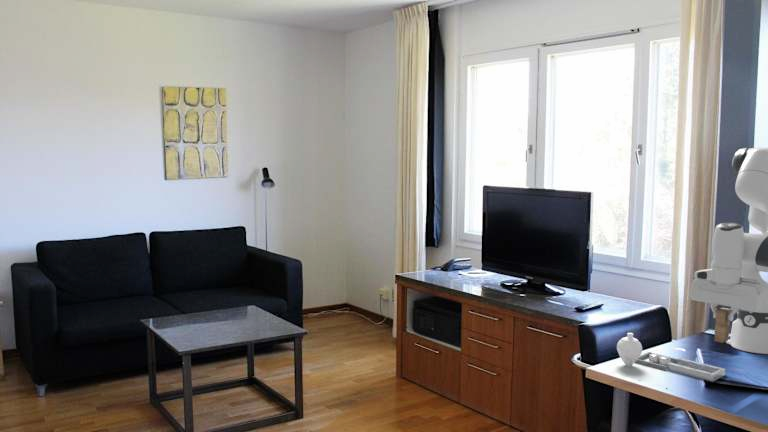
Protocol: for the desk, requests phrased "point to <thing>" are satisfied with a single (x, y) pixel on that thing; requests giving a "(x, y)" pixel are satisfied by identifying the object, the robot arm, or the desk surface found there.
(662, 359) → the silver metal ball
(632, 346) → the white vase
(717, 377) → the slot block
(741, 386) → the desk surface
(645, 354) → the tray
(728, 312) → the tan long rectangular block
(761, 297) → the robot arm
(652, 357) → the shiny gray ball
